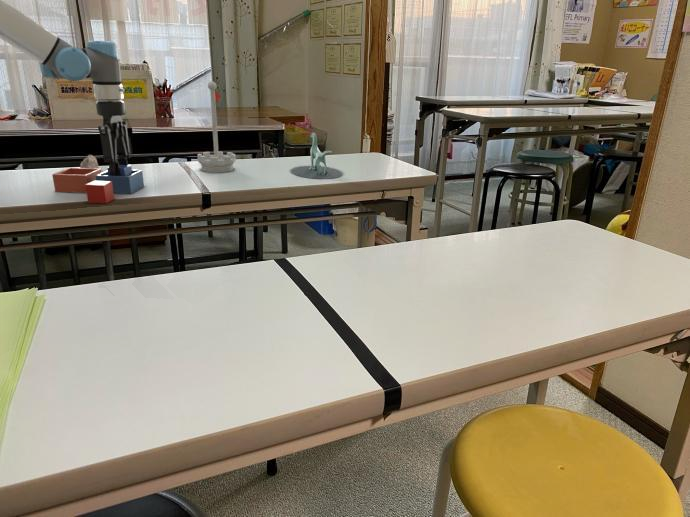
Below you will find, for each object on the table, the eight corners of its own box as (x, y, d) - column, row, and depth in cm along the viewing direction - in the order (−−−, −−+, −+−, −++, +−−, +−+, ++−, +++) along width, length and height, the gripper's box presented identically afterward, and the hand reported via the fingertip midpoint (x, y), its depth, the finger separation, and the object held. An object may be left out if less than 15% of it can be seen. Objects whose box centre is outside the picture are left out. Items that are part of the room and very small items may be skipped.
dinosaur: (353, 178, 177) (354, 139, 172) (304, 181, 170) (304, 141, 166) (328, 164, 198) (328, 130, 194) (283, 167, 192) (283, 131, 187)
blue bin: (97, 193, 149) (95, 175, 147) (112, 185, 158) (110, 169, 156) (131, 194, 149) (128, 176, 147) (144, 186, 158) (142, 170, 156)
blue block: (109, 184, 150) (106, 167, 149) (117, 180, 155) (114, 164, 153) (126, 185, 150) (124, 168, 148) (133, 181, 155) (131, 164, 153)
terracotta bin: (55, 191, 149) (52, 174, 147) (72, 184, 158) (69, 167, 156) (88, 192, 149) (85, 175, 147) (103, 185, 158) (101, 168, 156)
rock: (89, 183, 159) (85, 160, 157) (78, 175, 170) (74, 153, 167) (109, 181, 163) (105, 158, 160) (97, 173, 173) (94, 152, 171)
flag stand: (224, 174, 177) (218, 82, 166) (191, 171, 181) (184, 81, 170) (242, 167, 189) (238, 81, 178) (211, 164, 192) (205, 80, 182)
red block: (87, 202, 139) (85, 184, 137) (96, 198, 144) (94, 180, 142) (106, 203, 139) (103, 185, 137) (114, 198, 144) (112, 181, 142)
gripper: (108, 103, 136) (120, 189, 144) (136, 98, 152) (145, 176, 161) (80, 102, 136) (93, 188, 144) (111, 98, 153) (121, 175, 161)
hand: (120, 182), depth 153 cm, fingers closed on blue block, 5 cm apart
